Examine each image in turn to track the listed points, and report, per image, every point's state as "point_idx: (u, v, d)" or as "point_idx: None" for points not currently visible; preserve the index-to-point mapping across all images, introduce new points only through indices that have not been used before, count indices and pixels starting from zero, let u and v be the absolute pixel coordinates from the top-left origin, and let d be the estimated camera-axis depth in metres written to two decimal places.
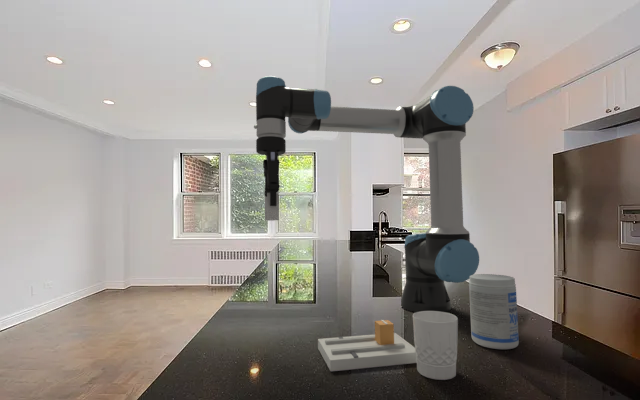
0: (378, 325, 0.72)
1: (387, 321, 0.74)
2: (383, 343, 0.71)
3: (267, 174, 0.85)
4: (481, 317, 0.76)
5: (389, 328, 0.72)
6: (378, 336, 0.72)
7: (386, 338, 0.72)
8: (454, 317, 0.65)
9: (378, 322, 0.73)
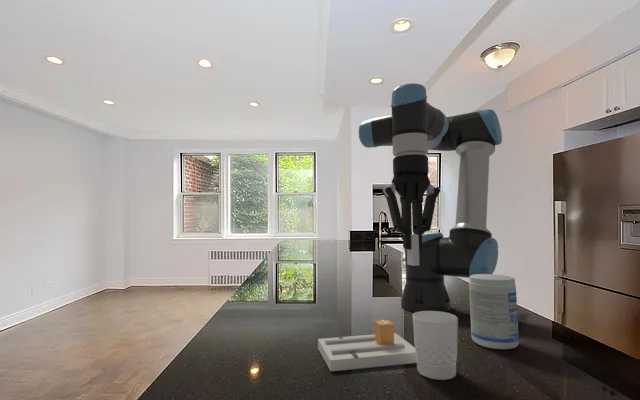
0: (378, 325, 0.72)
1: (387, 321, 0.74)
2: (383, 343, 0.71)
3: (401, 210, 0.77)
4: (481, 317, 0.76)
5: (389, 328, 0.72)
6: (378, 336, 0.72)
7: (386, 338, 0.72)
8: (454, 317, 0.65)
9: (378, 322, 0.73)
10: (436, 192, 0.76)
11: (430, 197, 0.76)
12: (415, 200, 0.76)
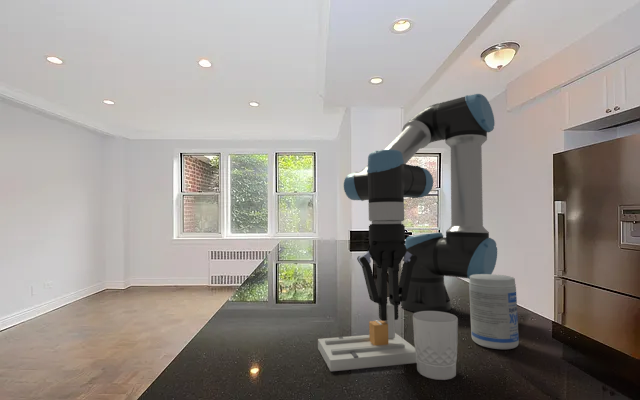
0: (373, 326, 0.72)
1: (381, 321, 0.74)
2: (377, 344, 0.71)
3: (377, 278, 0.75)
4: (481, 317, 0.76)
5: (383, 329, 0.72)
6: (372, 336, 0.72)
7: (380, 338, 0.71)
8: (454, 317, 0.65)
9: (372, 322, 0.73)
10: (413, 260, 0.74)
11: (407, 265, 0.74)
12: (391, 269, 0.74)
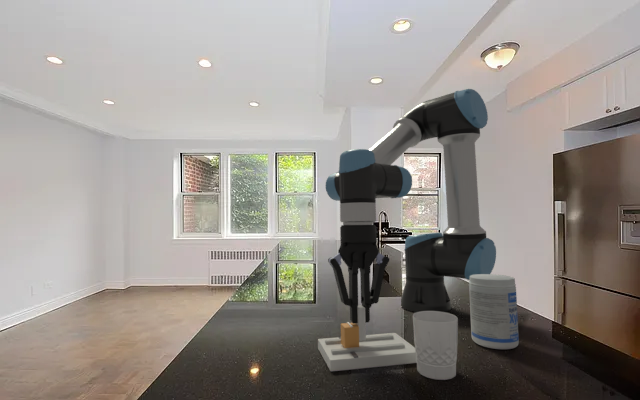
0: (343, 328, 0.71)
1: (353, 324, 0.72)
2: (348, 346, 0.70)
3: None
4: (481, 317, 0.76)
5: (354, 331, 0.70)
6: (343, 339, 0.71)
7: (351, 341, 0.70)
8: (454, 317, 0.65)
9: (343, 325, 0.72)
10: (385, 262, 0.73)
11: (378, 267, 0.73)
12: (362, 271, 0.72)
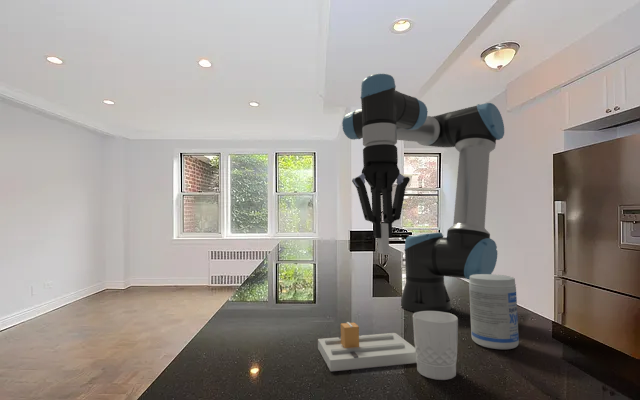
0: (343, 328, 0.71)
1: (353, 324, 0.72)
2: (348, 346, 0.70)
3: None
4: (481, 317, 0.76)
5: (354, 331, 0.70)
6: (343, 339, 0.71)
7: (351, 341, 0.70)
8: (454, 317, 0.65)
9: (343, 325, 0.72)
10: (405, 181, 0.77)
11: (400, 186, 0.77)
12: (385, 190, 0.77)
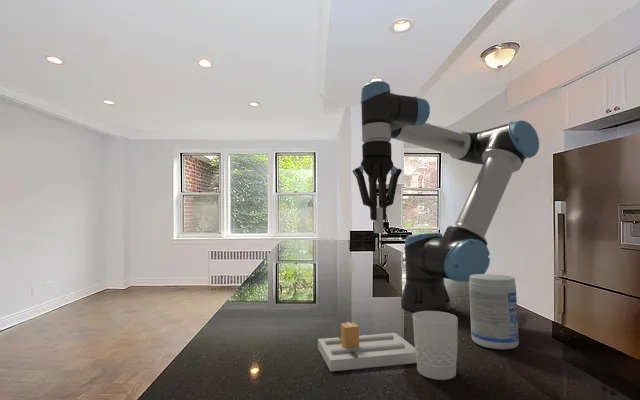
0: (343, 328, 0.71)
1: (353, 324, 0.72)
2: (348, 346, 0.70)
3: (369, 187, 0.91)
4: (481, 317, 0.76)
5: (354, 331, 0.70)
6: (343, 339, 0.71)
7: (351, 341, 0.70)
8: (454, 317, 0.65)
9: (343, 325, 0.72)
10: (398, 172, 0.91)
11: (393, 177, 0.91)
12: (380, 179, 0.90)
